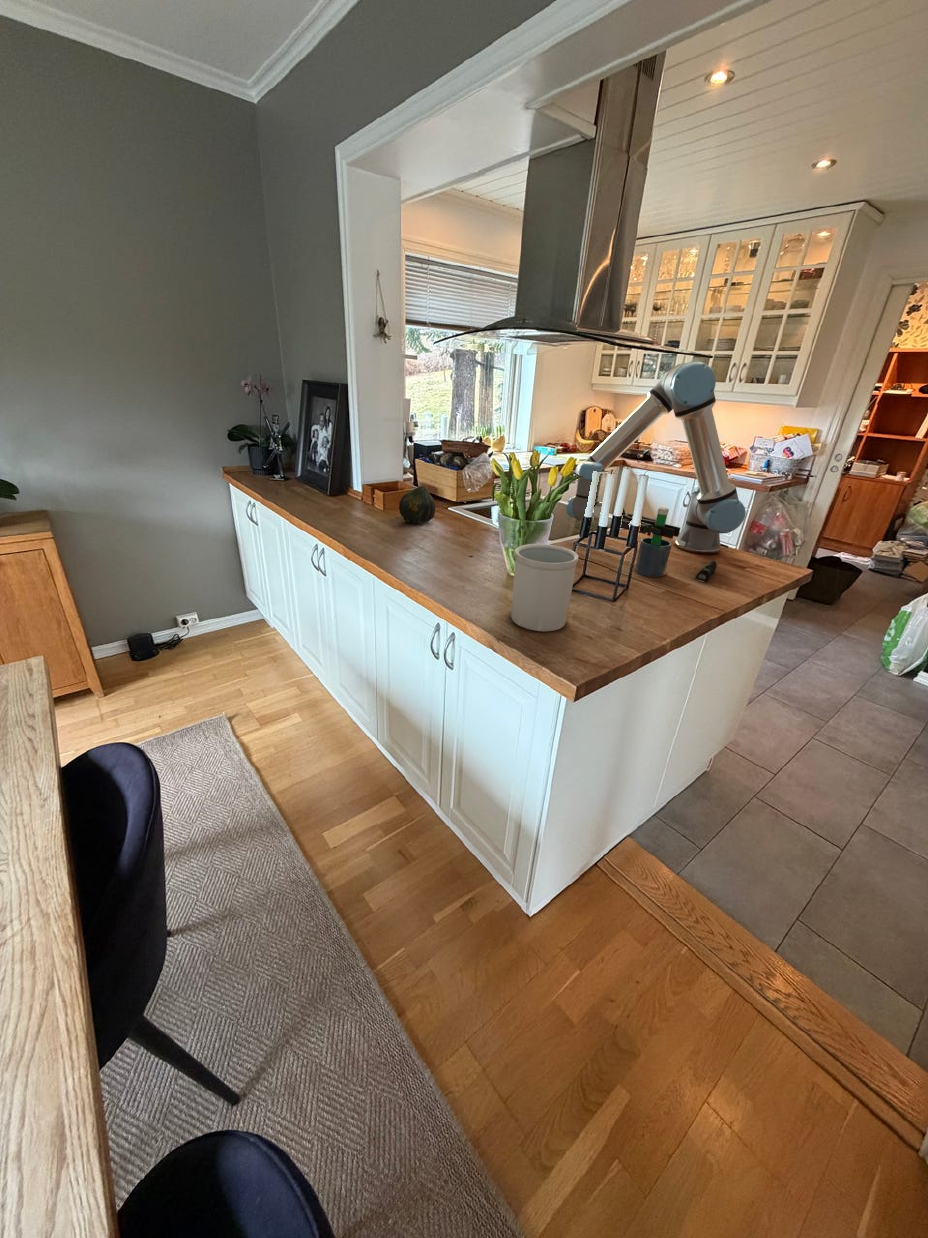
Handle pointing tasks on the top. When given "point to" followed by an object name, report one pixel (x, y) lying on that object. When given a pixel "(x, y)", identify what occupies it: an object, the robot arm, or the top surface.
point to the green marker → (661, 522)
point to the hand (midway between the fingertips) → (675, 533)
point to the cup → (652, 558)
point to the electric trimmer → (706, 572)
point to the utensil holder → (542, 586)
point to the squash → (417, 505)
